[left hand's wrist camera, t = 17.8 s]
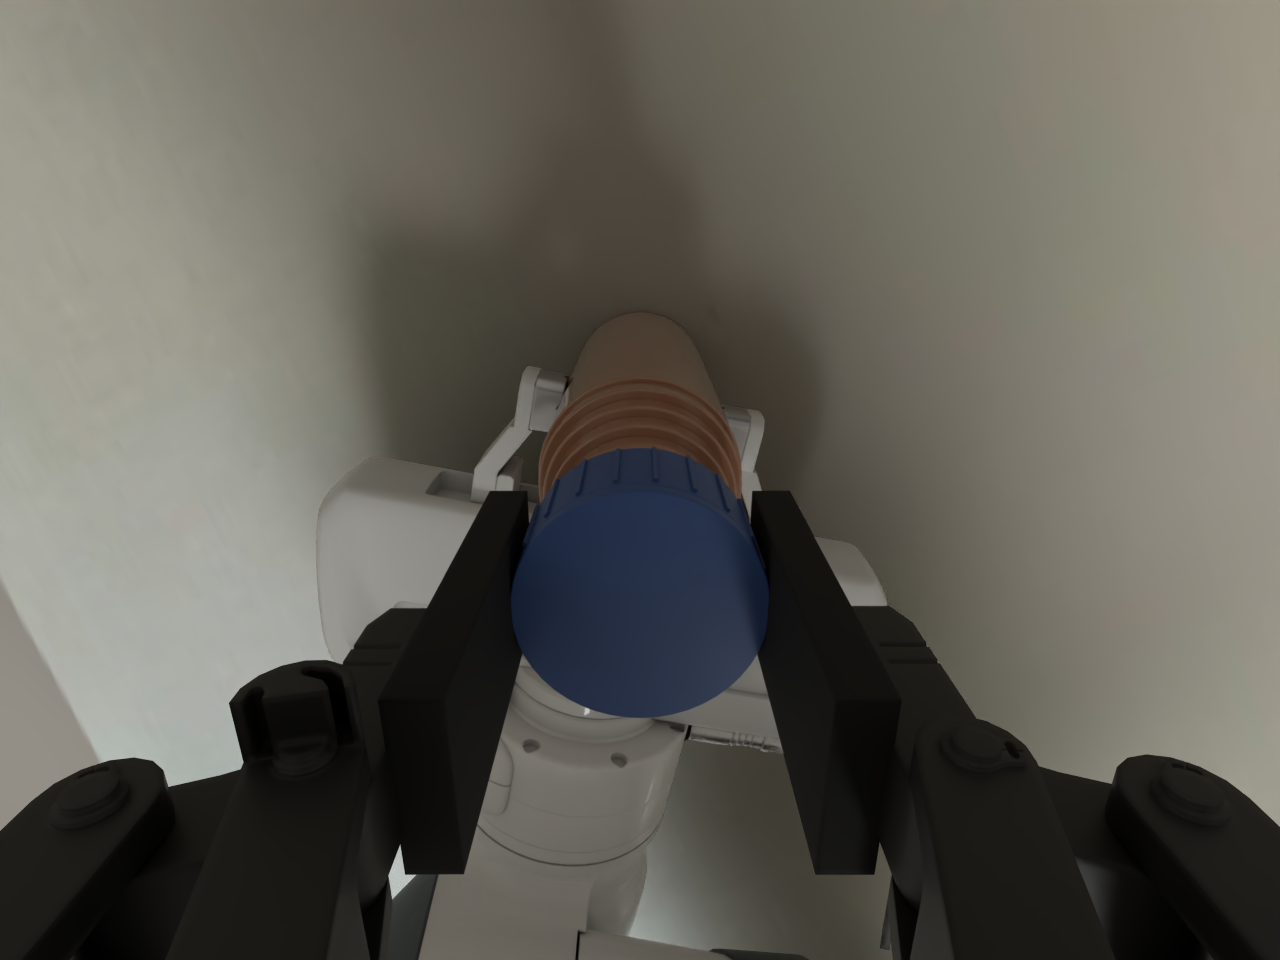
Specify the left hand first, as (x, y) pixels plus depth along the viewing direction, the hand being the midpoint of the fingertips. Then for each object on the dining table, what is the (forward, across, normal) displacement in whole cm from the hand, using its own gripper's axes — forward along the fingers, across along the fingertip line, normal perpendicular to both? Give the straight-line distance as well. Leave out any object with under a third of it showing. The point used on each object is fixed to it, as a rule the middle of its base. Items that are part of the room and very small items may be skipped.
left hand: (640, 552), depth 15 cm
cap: (-2, 0, 0) cm, 2 cm away
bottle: (+17, 0, 0) cm, 17 cm away
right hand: (+10, 0, -1) cm, 10 cm away
